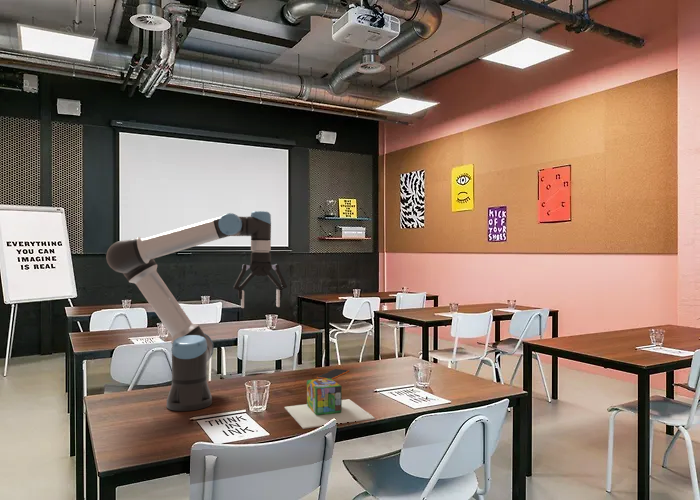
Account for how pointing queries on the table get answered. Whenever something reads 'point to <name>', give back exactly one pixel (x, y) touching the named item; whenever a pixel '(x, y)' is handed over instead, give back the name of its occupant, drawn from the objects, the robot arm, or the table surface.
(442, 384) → the table surface
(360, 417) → the mat
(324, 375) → the smartphone
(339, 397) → the chalk box
